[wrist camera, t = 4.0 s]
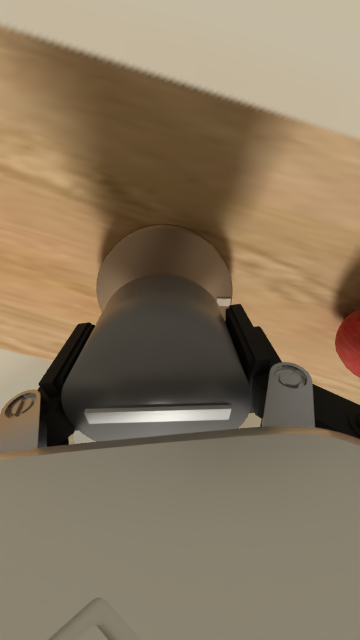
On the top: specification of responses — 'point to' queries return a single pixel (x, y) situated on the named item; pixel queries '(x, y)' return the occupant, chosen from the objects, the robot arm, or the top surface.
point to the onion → (349, 342)
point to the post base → (165, 262)
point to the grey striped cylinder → (157, 365)
